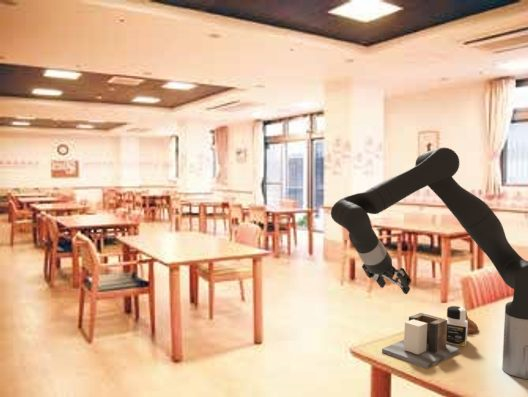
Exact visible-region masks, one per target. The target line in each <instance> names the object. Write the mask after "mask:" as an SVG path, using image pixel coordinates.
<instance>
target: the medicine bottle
mask: <svg viewBox="0 0 528 397" xmlns="http://www.w3.org/2000/svg"><path fill="white" fill-rule="evenodd" d="M466 312H467V310H466V309H465V308H464V307H462V306H456V305H451V306H448V307H447V309H446V318H445V319H446V320H447V339H446V344H448V345H449V344H450V345H456V346H460V347H461V346H462V347H466V346H467V340H468V334H467V330H468V321H467V320H466Z"/></svg>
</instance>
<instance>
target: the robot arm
mask: <svg viewBox="0 0 528 397" xmlns="http://www.w3.org/2000/svg"><path fill="white" fill-rule="evenodd" d="M459 168H460V159H459V156H458V154H457V153H456V151H454V150H453V149H451V148H449V147H436V148H433V149H432V150H431V149H430V150H429V151H426V152H423V153H421V154H419V155H418V156H417V158H416V160H415V166H413V167H412V168H410V169H408V170H406V171H404V172H402V173H399V174H397V175H394V176H391V177H390V178H387V179H385V180H383V181H382V182H380V183H378V184H376V185H373V186H372V187H371V188H369V189H367V190H365V191H362V192H358V193H354V194H351V195H347V196H345V197H342V198H340V199H339V200H338V201H336V202H335V203H334V204H333V205H332V206H331V210H330V216H331V217H330V218H331V219H332V220H333V221H334V222H335V223H336V224H337V225H339V226H341V227H343V228H344V229H345V230H346V231H347V232H348V238H349V241H350V243H351V244H352V247H354V249H355V251H356V253H357V254H358V257H359V258H360V260H361V262H363V264H362V266H361V268H362V269H363V271H364V273H365V275H366V276H367V278H369V279H371V278H372V280H374V281H376V283H377V285H379V288H382V289H383V288H384V287H385V286H386V285H387V284H386V283H387V282H386V279H387V280H388V281H390V282H391V283H392V284H396V285H397V286H399V287H400V289H401V291H402V293H403V294H405V295H408V294H409V292H410V291H411V287H410V286H409V285H410V284H411V282H412V279H411V278H410V277H411V276H409V275H408V273H407V271H406V270H405V268H403V267H399V269H396V267H395V266H394V265H393V259H392V256H391V255H390V253H389V252H388V250H387V249H386V247H385V245H384V244H383V242H382V241H381V240H380V239H379V237H378V236H377V233H376V232H375V230H374V229H373V224H372V222H371V218H370V216H369V214H371V215H378V214H379V213H382V212H383V211H385V210H387V209H388V208H390V207H392V206H394V205H395V204H397V203H399V202H400V201H402V200H404V199H406V198H408V197H409V196H410V195H412V194H414V193H416V192H418V191H419V190H421V189H423V188H426V187H428V188H429V189H430V190H431V191H433V193H434V194H435V195H436V196H438V198H439V199H440V200H441V202H443V204H444V205H445V207H447V209H448V210H449V211H450V212H451V214H452V215H453V216H454V218H455V219H456V220H457V222H459V224H460V225H461V227H462V228H463V229H464V230H465V231H466V233H467V234H468V236H470V238H471V239H472V240H473V241H474V242H475V244H476V245H477V246H478V248H479V249H481V251H483V253H484V254H485V255H486V256H487V257H488V259H489V260H490V261H491V263H492V264H493V266H494V268H495V270H497V273H498V274H499V275H500V277H501V279H502V281H503V282H504V283H505V284H506V285H507V286H508V287H509V288H511V289H513V295H512V296H513V297H512V301H508V302H506V304H505V307H504V325H503V326H504V327H503V345H502V366H501V368H502V371H503V372H504V373H506V374H508V375H510V376H513V377H517V378H520V379H524V380H528V260H525V259H524V258H523V257H522V256H521V255H520V254H519V253H518V252H517V251H516V250H515V249H514V247H513V246H512V245H511V244H510V243H509V240H508V239H507V236H506V233H505V230H504V227H503V224H502V222H501V220H500V219H499V218H498V216H497V215H496V213H495V212H494V211H493V210H492V209H491V207H490V206H489V205H488V204H487V203H486V202H485V201H483V200H482V199H481V198H479V197H478V196H477V195H475V194H473V193H472V192H470V191H468V190H467V189H465V188H464V187H463V186H461V185H460V184H459V183H458V182H457V181H456V180H455V179H454V178H453V176H454V175H456V174H457V172H458V171H459ZM394 276H395V277H394ZM393 278H394V279H393Z"/></svg>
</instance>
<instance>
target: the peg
mask: <svg viewBox="0 0 528 397" xmlns="http://www.w3.org/2000/svg"><path fill="white" fill-rule="evenodd" d="M403 340H404V350H406V351H409V352H412V353H415V354H417V355H418V354H420V353H422V352H425V351H426V345H427V323H425V322H421V321H418V320H414V319H413V320H410V321H409V320H407V321H405V322H404V338H403Z"/></svg>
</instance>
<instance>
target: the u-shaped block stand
mask: <svg viewBox="0 0 528 397" xmlns="http://www.w3.org/2000/svg"><path fill="white" fill-rule="evenodd" d="M413 319H414V320H418V321H421V322H425V323H427V345H426V351H425V352H422V353H420V354H418V355H417V354H415V353H412V352H409V351H406V350H404V339H403V340H400V341H397V342H394V343H392V344H390V345H387V346H385V347H383V348H381V352H382V353H384V354H387V355H389V356H391V357H394V358H397V359H400V360H403V361H404V362H407V363H411V364H414V365H416V366H419V367H422V368H424V369H429V368H431V367H433V366H435V365H437V364H439V363H441V362H442V361H445V360H446V359H449V358H451V357H452V356H454V355H456V354H458V353H460V348H459V347H455V346H453V345H451V344H450V345H449V344H447V343H446V339H447V320H446V318H442V317H438V316H434V315H430V314H427V313H424V312H420V313H415V314H413V315H411V316H409V317H408V321H410V320H413Z"/></svg>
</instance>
